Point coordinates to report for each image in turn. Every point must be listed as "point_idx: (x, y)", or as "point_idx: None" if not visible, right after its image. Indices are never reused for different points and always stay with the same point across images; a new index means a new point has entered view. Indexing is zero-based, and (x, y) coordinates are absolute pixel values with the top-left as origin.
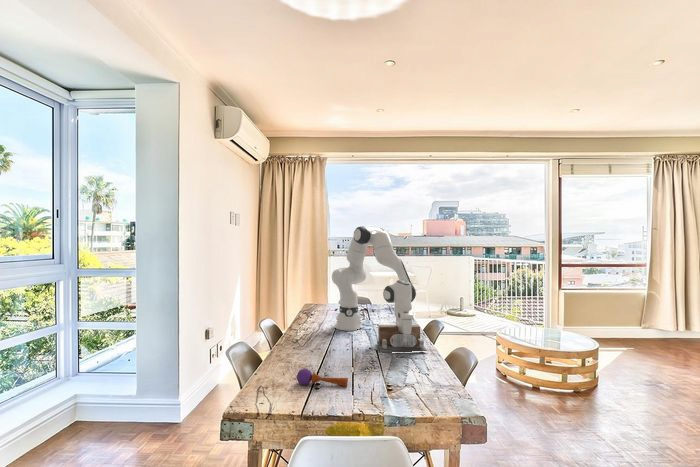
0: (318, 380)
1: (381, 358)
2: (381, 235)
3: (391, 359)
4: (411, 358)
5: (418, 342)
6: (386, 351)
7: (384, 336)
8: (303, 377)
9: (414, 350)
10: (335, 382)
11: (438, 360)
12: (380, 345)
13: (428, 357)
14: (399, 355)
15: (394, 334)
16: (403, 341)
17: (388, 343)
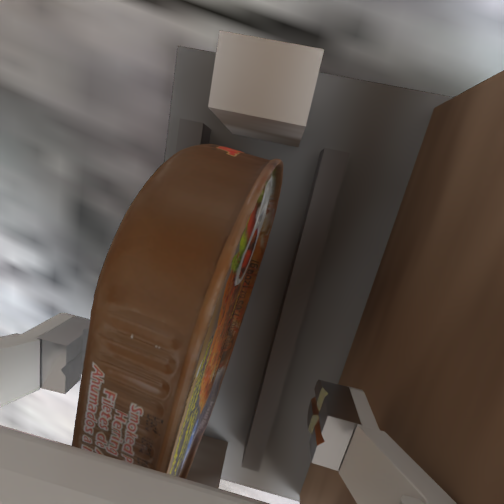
0: None
1: (60, 5)
2: None
3: (31, 101)
4: (48, 278)
5: (206, 481)
6: (174, 105)
7: (479, 163)
8: None
9: None
10: None
11: (7, 419)
12: (375, 98)
13: (62, 396)
14: (122, 217)
15: (121, 244)
16: (64, 313)
17: (397, 222)
